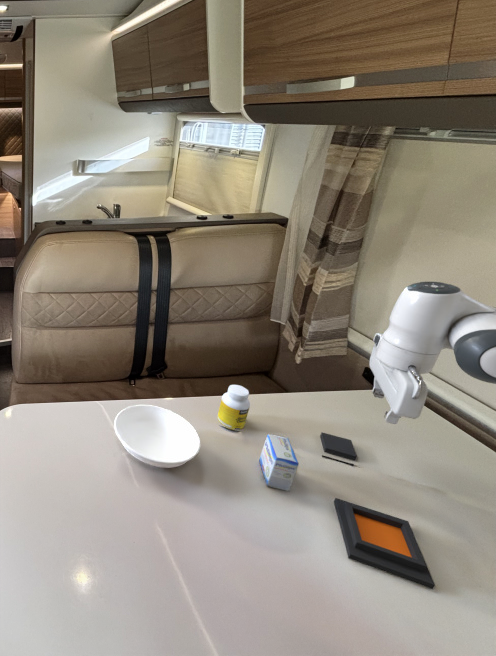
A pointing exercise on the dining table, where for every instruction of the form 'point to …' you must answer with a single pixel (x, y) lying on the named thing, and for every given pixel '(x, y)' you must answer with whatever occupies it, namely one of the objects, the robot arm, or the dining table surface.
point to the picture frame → (382, 542)
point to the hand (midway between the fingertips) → (383, 408)
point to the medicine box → (278, 462)
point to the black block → (338, 447)
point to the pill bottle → (234, 408)
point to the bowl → (157, 435)
